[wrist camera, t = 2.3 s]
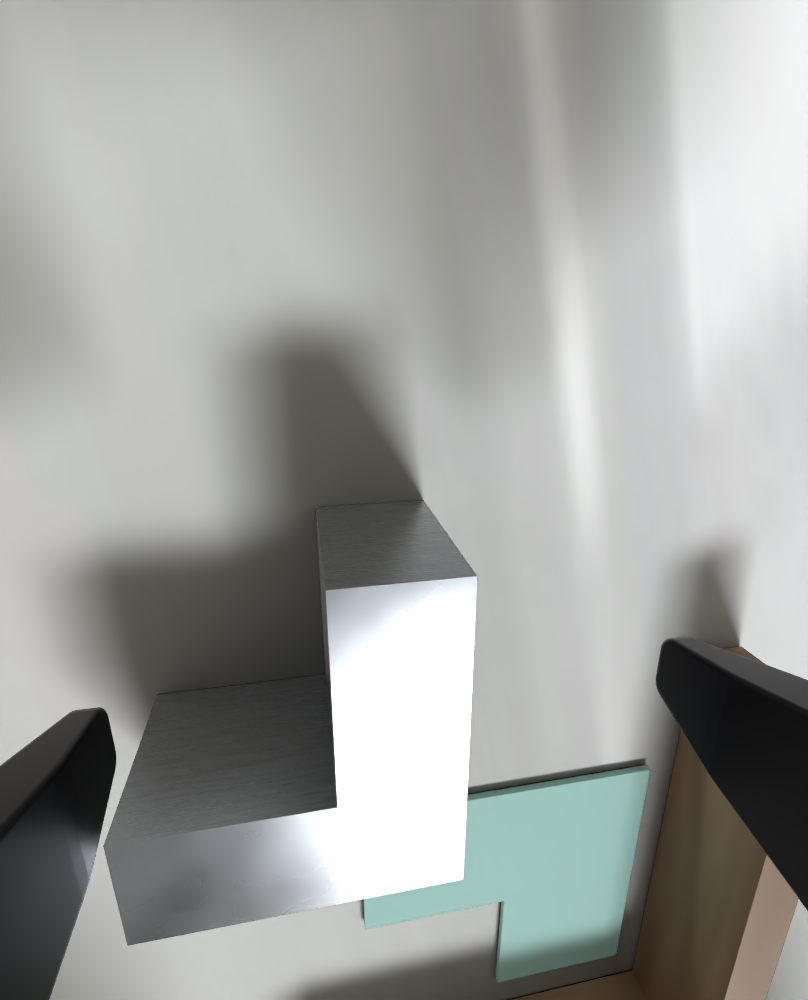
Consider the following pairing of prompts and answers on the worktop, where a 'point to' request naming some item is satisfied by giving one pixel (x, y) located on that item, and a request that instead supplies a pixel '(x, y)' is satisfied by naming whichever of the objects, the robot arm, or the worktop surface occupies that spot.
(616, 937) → the mat
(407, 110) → the worktop surface
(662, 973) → the corner wall
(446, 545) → the bracket
